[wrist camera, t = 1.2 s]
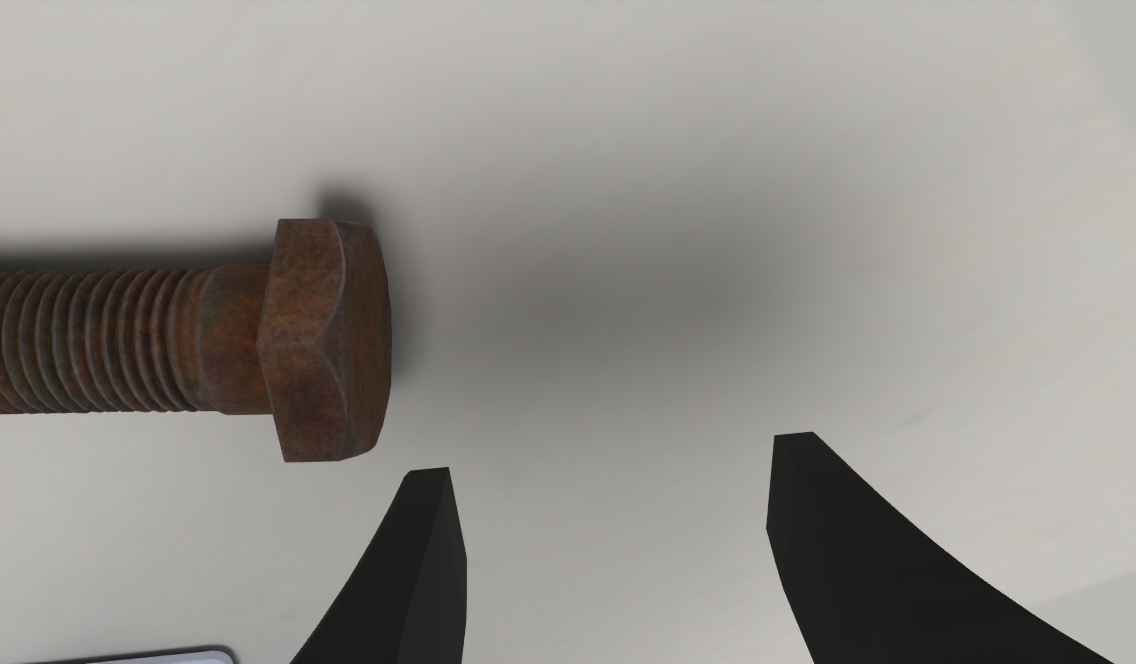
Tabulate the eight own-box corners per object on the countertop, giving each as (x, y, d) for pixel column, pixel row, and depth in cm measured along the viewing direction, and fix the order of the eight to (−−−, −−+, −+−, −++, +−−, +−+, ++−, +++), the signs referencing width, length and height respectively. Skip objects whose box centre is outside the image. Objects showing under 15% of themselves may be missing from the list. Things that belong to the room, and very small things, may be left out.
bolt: (-195, 242, 20) (394, 237, 21) (-187, 438, 20) (398, 429, 21) (-493, 216, 14) (334, 209, 15) (-480, 490, 15) (339, 476, 15)
